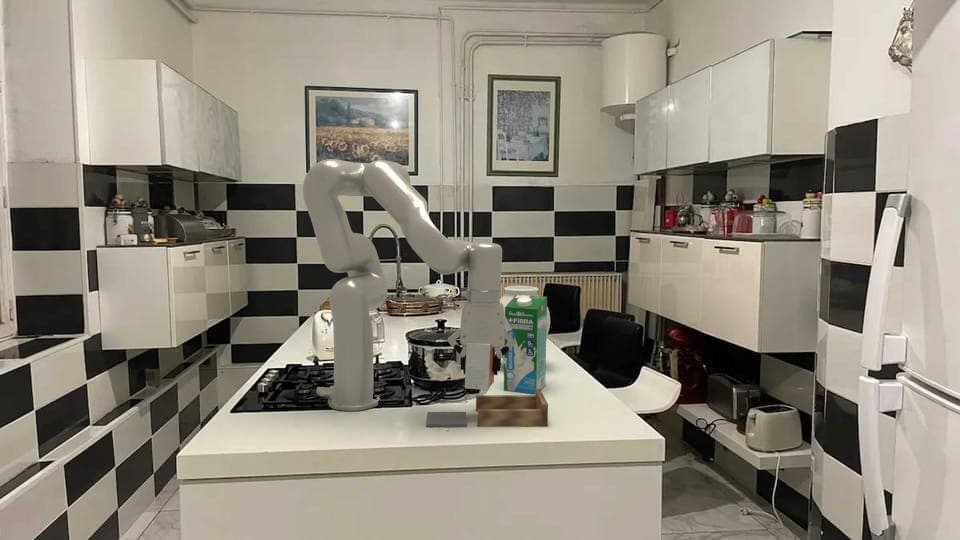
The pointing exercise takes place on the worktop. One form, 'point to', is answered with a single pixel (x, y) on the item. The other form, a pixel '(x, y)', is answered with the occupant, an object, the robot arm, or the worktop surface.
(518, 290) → the vase
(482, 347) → the small box
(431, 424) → the pad
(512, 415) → the holder
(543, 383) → the milk carton
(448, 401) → the worktop surface
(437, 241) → the robot arm
